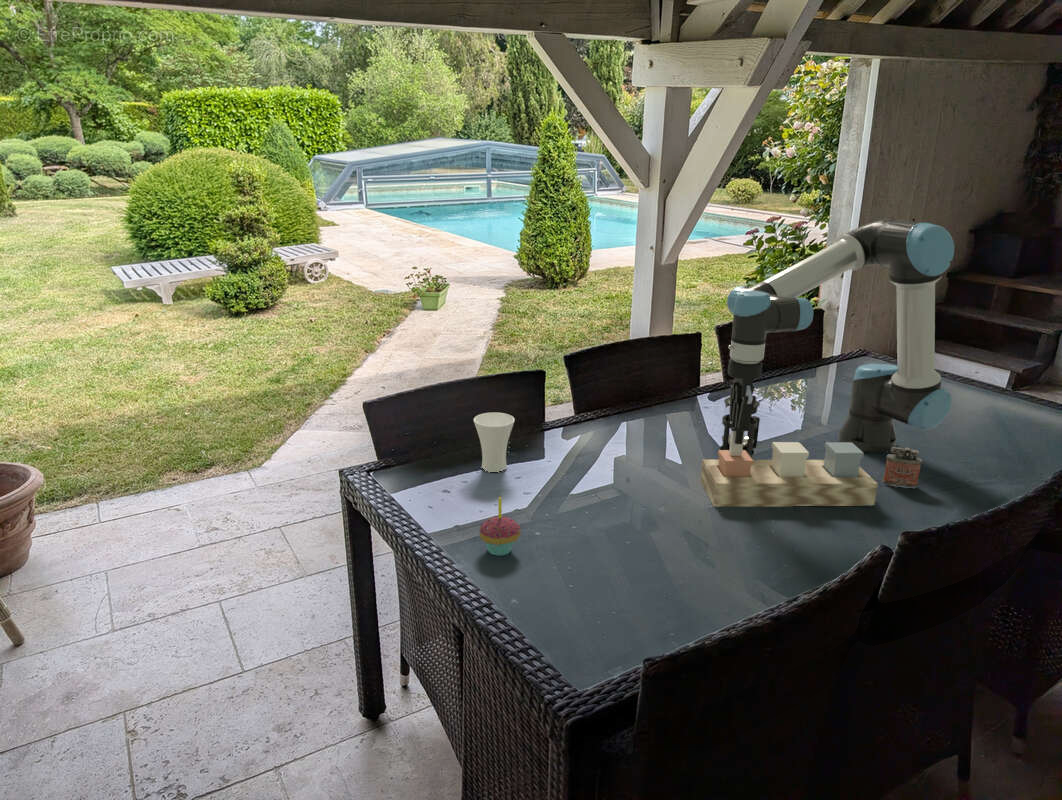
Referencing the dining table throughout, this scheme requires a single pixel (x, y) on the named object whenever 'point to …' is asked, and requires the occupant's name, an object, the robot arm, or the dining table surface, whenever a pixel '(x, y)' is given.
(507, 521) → the cupcake
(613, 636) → the dining table surface
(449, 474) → the dining table surface
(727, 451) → the terracotta key
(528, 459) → the dining table surface
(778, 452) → the cream key
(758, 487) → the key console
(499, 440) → the cup
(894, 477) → the lighter
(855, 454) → the slate key
